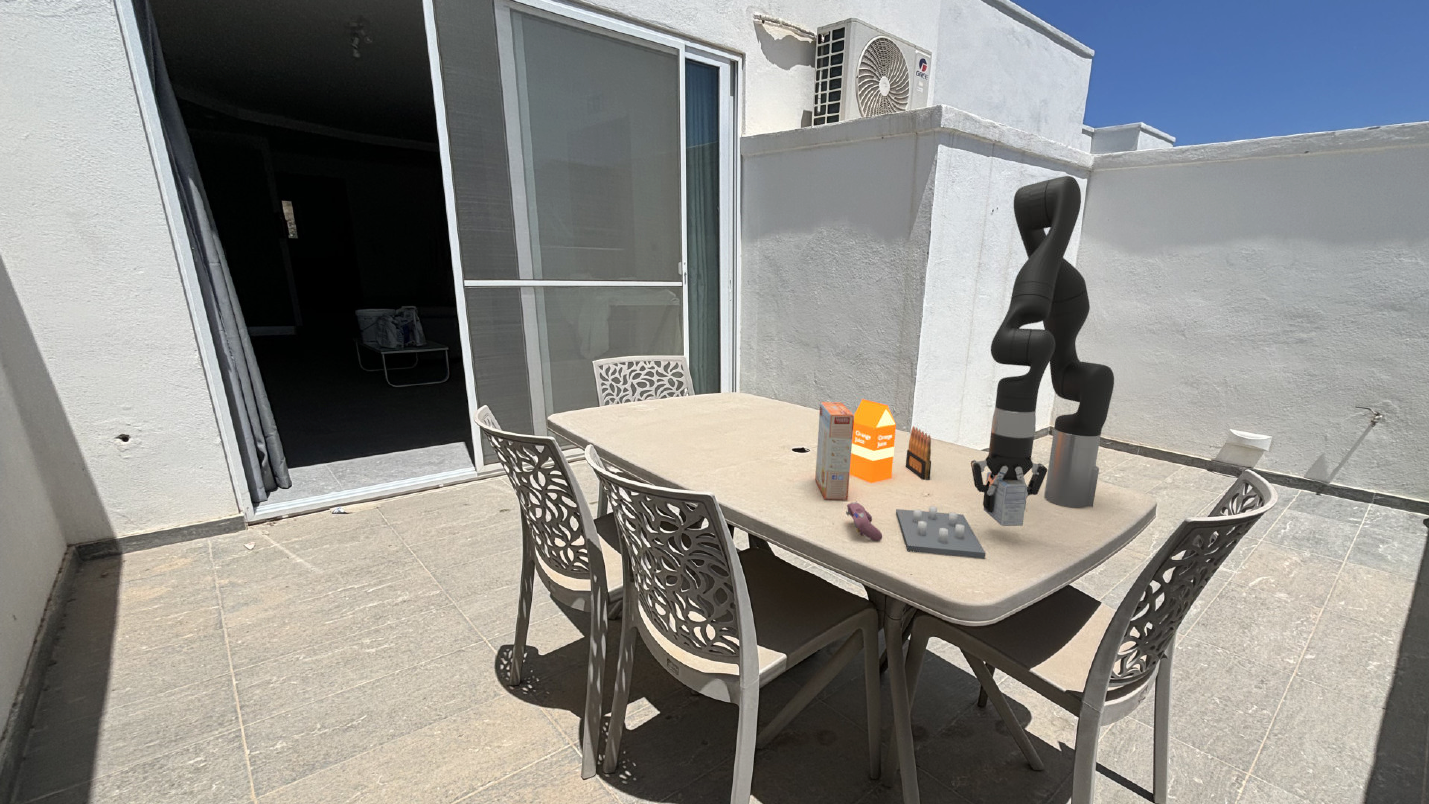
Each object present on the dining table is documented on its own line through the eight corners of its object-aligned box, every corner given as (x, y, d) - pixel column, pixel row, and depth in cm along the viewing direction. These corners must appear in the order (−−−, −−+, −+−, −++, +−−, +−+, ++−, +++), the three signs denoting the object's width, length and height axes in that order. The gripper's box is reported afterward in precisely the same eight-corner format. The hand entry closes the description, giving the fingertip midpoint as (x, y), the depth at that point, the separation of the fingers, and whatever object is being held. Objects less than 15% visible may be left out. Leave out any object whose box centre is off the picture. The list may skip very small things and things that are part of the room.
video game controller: (853, 528, 123) (840, 500, 122) (872, 519, 123) (860, 492, 122) (863, 549, 114) (849, 519, 112) (885, 540, 113) (871, 510, 112)
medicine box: (1023, 526, 112) (1028, 485, 110) (1000, 526, 112) (1005, 485, 110) (1003, 510, 120) (1008, 471, 118) (982, 510, 120) (986, 471, 118)
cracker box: (849, 501, 134) (855, 414, 130) (823, 500, 134) (828, 413, 130) (837, 480, 148) (843, 401, 143) (814, 479, 148) (819, 400, 144)
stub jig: (962, 519, 125) (964, 504, 124) (984, 558, 107) (987, 541, 107) (895, 514, 127) (897, 498, 126) (907, 551, 110) (908, 533, 109)
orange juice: (871, 483, 146) (877, 406, 142) (846, 473, 153) (851, 400, 149) (892, 478, 150) (898, 403, 146) (866, 468, 158) (872, 397, 153)
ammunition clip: (905, 466, 159) (908, 425, 157) (911, 466, 160) (915, 425, 157) (923, 480, 149) (927, 435, 146) (930, 480, 149) (934, 435, 147)
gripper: (1044, 427, 114) (1034, 507, 118) (968, 424, 117) (961, 502, 120) (1060, 437, 107) (1048, 522, 111) (978, 434, 110) (970, 517, 113)
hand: (1003, 511), depth 116 cm, fingers closed on medicine box, 5 cm apart
